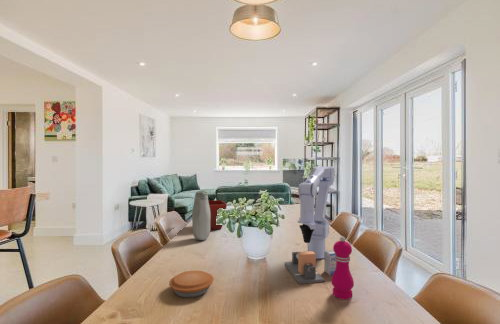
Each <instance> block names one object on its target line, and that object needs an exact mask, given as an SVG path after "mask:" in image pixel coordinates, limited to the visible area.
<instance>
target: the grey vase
mask: <svg viewBox="0 0 500 324" xmlns="http://www.w3.org/2000/svg"><path fill="white" fill-rule="evenodd" d="M208 201H209V195H208V192H207V191H206V190H198V191H196V192H195V194H194V200H193V207H192V211H191V212H192V213H191V220H192V221H191V222H192V228H191V229H192V234H193V237H194V238H195V240H197V241H205V240H207V239H208V238H209V236H210V234H211V230H210V218H211V214H210V207H209V202H208Z"/></svg>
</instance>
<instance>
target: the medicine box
mask: <svg viewBox="0 0 500 324" xmlns="http://www.w3.org/2000/svg"><path fill="white" fill-rule="evenodd" d="M323 260H324V261H323V264H324V265H323V271H324V272H325V273H326V274H327V275H328V276H331V277H332V276H333V274H334V272H335V269H336V260H335V252H334V250H333V249H332V250H325V251H324V258H323Z"/></svg>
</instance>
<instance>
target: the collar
mask: <svg viewBox="0 0 500 324" xmlns="http://www.w3.org/2000/svg"><path fill="white" fill-rule="evenodd" d="M307 251H308V250H307ZM297 252H298V271H299V272H300V274H304V265H305V263H309V265H314V266H315V267H317V264H316V263H317V262H316V261H317V259H316V254H315V253H314V252H313V251H308V252H306V251H297Z"/></svg>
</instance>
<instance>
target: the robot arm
mask: <svg viewBox="0 0 500 324" xmlns="http://www.w3.org/2000/svg"><path fill="white" fill-rule="evenodd" d="M335 176H336V172H335V167H334V166H333V165H331V166H325V165H324V166H317V165H315V166H313V168H312V174H310V175H309V176H308V177H307V178H306V180H305V181H304V182H301V183H299V185H298V189H297V190H298V191H297V192H298V199H299V200H300V203H299V205H300V210H299V211H300V212H299V213H300V217H299V220H297V224H300V225H299V228H300V231H301V234H302V239H303V242H304V243H306V244H307V250H306V251H305V252H308V251H313V252H314V253H315V254H316V260H318V259H319V260H321V259H324V251H326V239H327V238H328V237H329V235H330V222H329V220H328V219H326V218H325V217H326V216H325V215H326V210H327V209H326V207H327V204H328V203H327V202H328V197H329V191H330V187H331V186H332V185H334V181H335ZM318 187H319V188H318ZM317 190H318V192H317ZM316 194H317V196H316ZM315 196H316V197H317V198H316V205H315Z"/></svg>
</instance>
